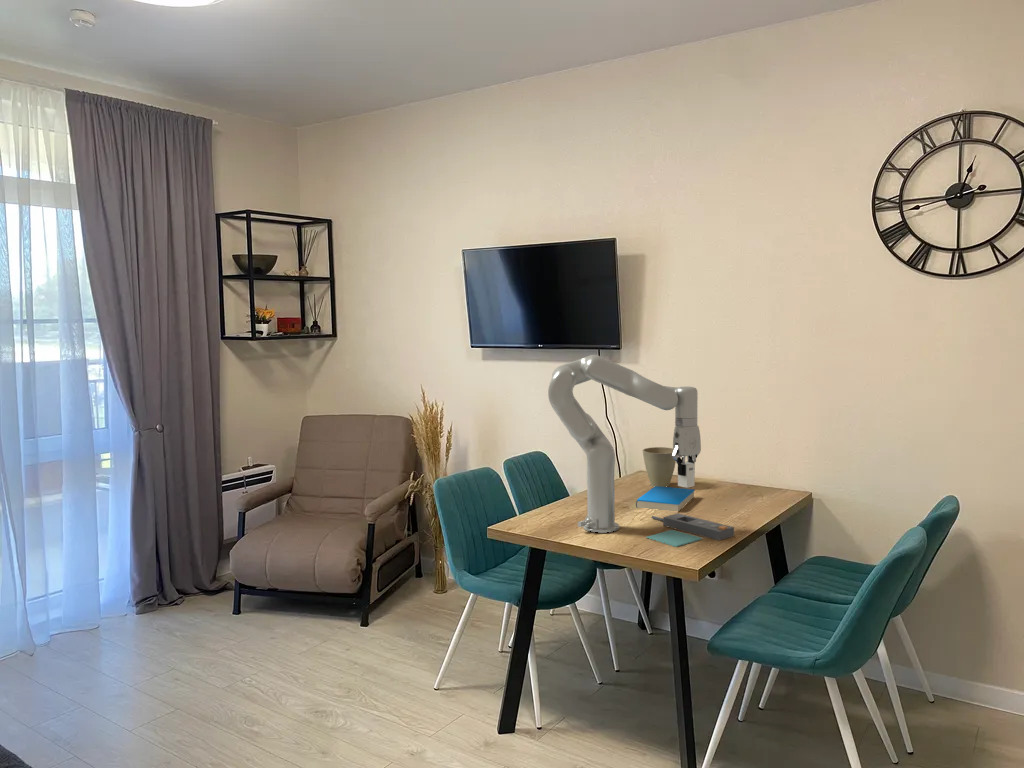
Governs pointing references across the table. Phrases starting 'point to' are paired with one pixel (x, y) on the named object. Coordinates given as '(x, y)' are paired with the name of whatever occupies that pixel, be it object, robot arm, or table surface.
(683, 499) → the book
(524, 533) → the table surface
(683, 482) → the charger plug
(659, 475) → the plant pot
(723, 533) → the power strip
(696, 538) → the mat
